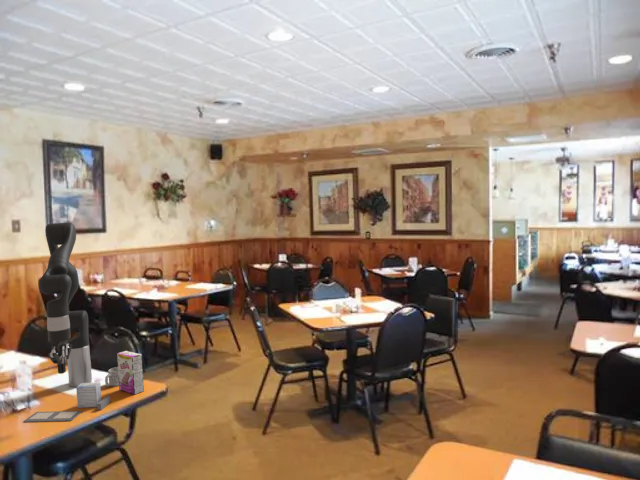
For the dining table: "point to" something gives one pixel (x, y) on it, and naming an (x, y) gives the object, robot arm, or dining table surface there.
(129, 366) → the candy bar box
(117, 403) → the dining table surface
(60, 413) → the plate
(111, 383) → the mug
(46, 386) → the dining table surface
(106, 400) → the rubber stop
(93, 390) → the grey upright block
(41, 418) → the plate
